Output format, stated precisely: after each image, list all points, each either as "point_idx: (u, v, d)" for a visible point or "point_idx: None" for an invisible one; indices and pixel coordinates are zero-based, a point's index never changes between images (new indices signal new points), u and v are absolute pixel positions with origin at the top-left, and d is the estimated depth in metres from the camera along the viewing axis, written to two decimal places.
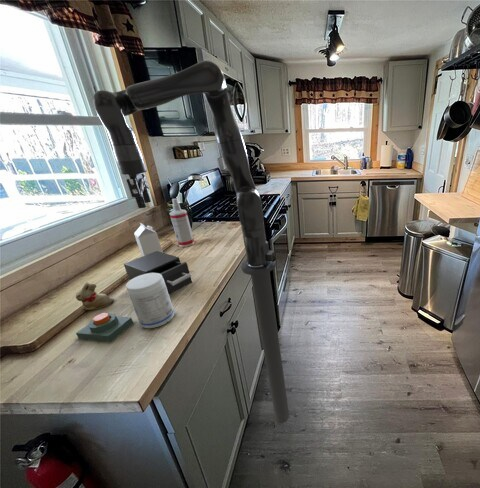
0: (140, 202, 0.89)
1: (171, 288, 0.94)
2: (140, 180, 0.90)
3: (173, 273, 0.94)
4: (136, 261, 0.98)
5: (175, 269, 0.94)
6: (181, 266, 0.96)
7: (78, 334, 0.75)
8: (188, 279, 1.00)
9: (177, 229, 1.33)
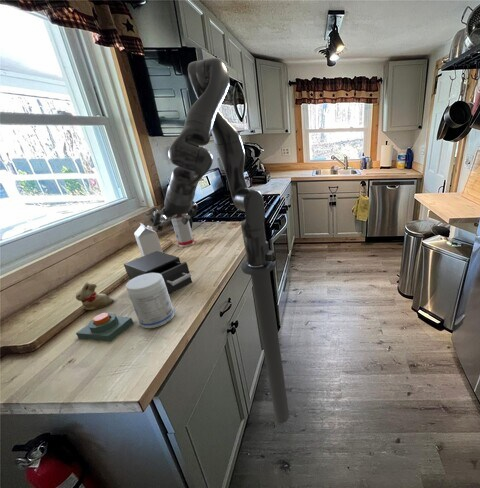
0: None
1: (171, 288, 0.94)
2: None
3: (173, 273, 0.94)
4: (136, 261, 0.98)
5: (175, 269, 0.94)
6: (181, 266, 0.96)
7: (78, 334, 0.75)
8: (188, 279, 1.00)
9: (177, 229, 1.33)
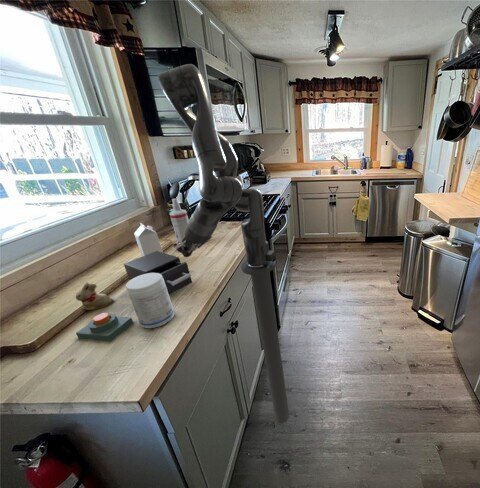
0: None
1: (171, 288, 0.94)
2: None
3: (173, 273, 0.94)
4: (136, 261, 0.98)
5: (175, 269, 0.94)
6: (181, 266, 0.96)
7: (78, 334, 0.75)
8: (188, 279, 1.00)
9: (177, 229, 1.33)
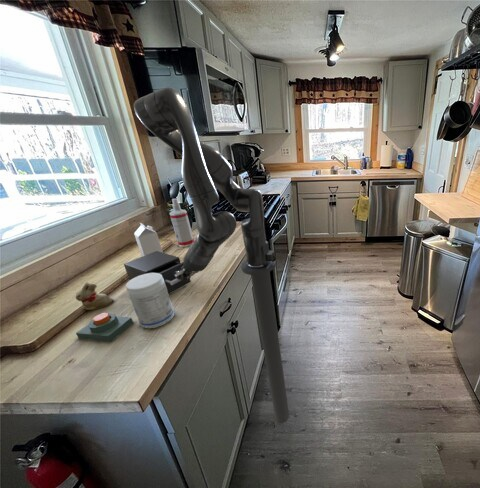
0: None
1: (170, 288, 0.94)
2: None
3: (171, 272, 0.94)
4: (136, 261, 0.98)
5: (174, 269, 0.95)
6: (180, 266, 0.97)
7: (78, 334, 0.75)
8: None
9: (177, 229, 1.33)
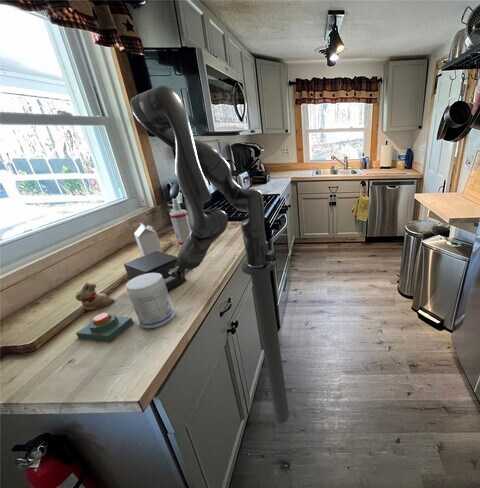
0: None
1: None
2: None
3: (166, 271, 0.95)
4: (136, 261, 0.98)
5: (168, 267, 0.96)
6: (174, 264, 0.98)
7: (78, 334, 0.75)
8: None
9: (177, 229, 1.33)
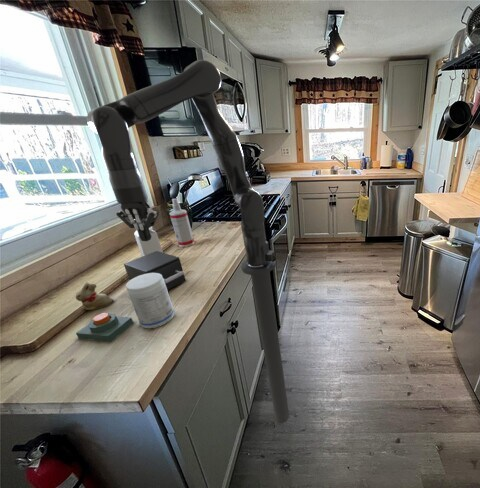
0: (149, 233, 0.80)
1: None
2: None
3: (166, 271, 0.95)
4: (136, 261, 0.98)
5: (168, 267, 0.96)
6: (174, 264, 0.98)
7: (78, 334, 0.75)
8: (181, 277, 1.01)
9: (177, 229, 1.33)
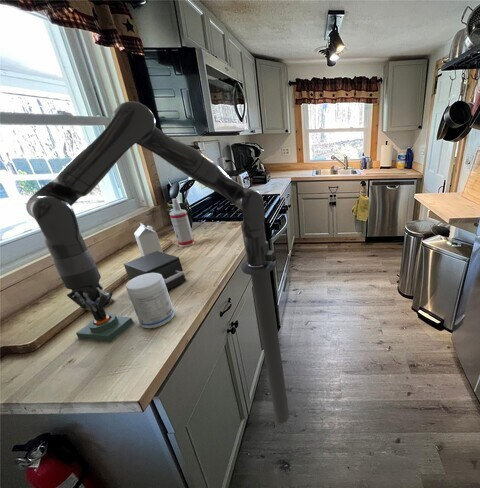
0: (103, 313, 0.76)
1: None
2: None
3: (166, 271, 0.95)
4: (136, 261, 0.98)
5: (168, 267, 0.96)
6: (174, 264, 0.98)
7: (78, 334, 0.75)
8: (181, 277, 1.01)
9: (177, 229, 1.33)
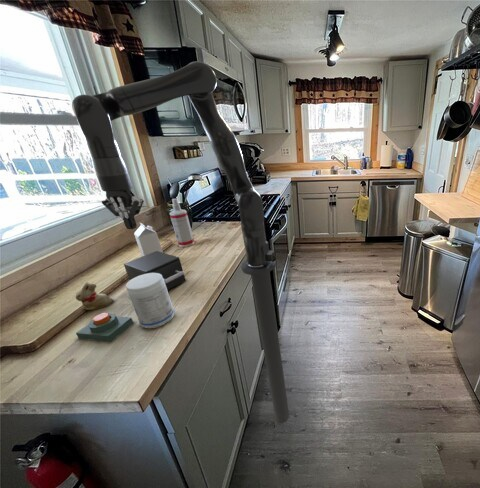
0: (134, 222, 0.82)
1: None
2: None
3: (166, 271, 0.95)
4: (136, 261, 0.98)
5: (168, 267, 0.96)
6: (174, 264, 0.98)
7: (78, 334, 0.75)
8: (181, 277, 1.01)
9: (177, 229, 1.33)
